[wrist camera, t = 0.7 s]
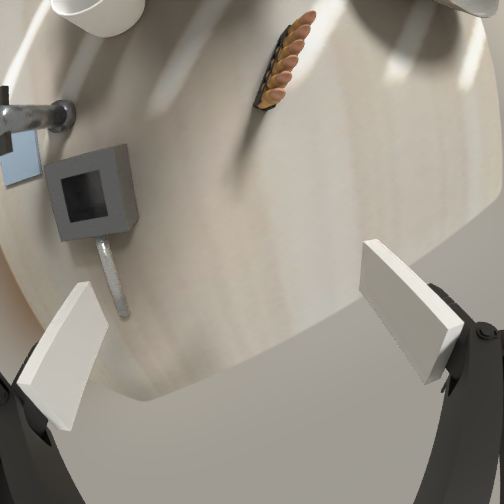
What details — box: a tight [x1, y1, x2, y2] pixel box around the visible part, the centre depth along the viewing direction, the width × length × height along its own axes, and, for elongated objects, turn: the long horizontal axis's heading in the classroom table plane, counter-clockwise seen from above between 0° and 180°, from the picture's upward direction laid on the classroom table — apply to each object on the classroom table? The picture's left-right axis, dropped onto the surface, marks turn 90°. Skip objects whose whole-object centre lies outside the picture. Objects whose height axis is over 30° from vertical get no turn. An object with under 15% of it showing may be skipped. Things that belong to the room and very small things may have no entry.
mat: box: [0, 130, 42, 186], centre depth 29 cm, size 10×8×1 cm
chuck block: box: [44, 144, 139, 317], centre depth 34 cm, size 23×10×5 cm, turn 4°
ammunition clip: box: [253, 11, 316, 111], centre depth 25 cm, size 11×2×12 cm, turn 161°
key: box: [0, 86, 76, 156], centre depth 23 cm, size 7×4×14 cm, turn 4°
